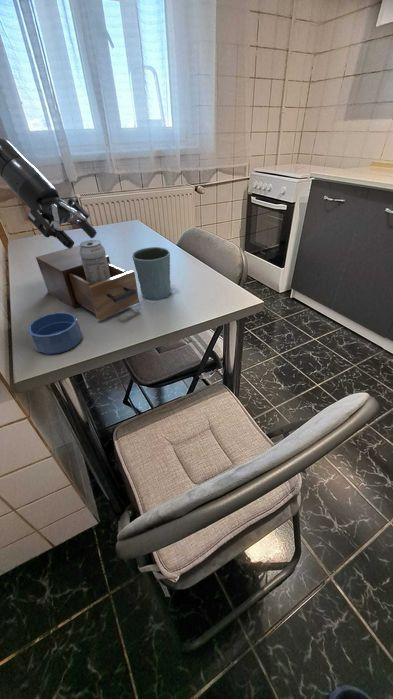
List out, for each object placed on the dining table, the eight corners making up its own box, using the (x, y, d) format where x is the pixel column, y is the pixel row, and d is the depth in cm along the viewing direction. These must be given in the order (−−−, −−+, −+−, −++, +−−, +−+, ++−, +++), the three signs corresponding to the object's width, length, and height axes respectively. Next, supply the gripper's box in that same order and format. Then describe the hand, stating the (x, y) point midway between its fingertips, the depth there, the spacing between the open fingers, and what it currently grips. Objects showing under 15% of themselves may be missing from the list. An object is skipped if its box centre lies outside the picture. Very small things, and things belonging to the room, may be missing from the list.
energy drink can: (116, 293, 83) (105, 238, 74) (112, 303, 78) (100, 246, 69) (95, 294, 83) (81, 239, 74) (89, 304, 78) (74, 247, 69)
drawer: (149, 307, 78) (144, 275, 73) (108, 326, 71) (100, 292, 66) (109, 287, 89) (103, 258, 83) (70, 302, 82) (61, 271, 76)
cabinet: (116, 291, 88) (108, 256, 82) (73, 308, 81) (62, 271, 74) (88, 277, 97) (80, 245, 91) (48, 292, 89) (35, 257, 83)
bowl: (48, 361, 62) (39, 342, 59) (28, 343, 68) (19, 324, 65) (90, 340, 68) (85, 322, 65) (69, 325, 74) (63, 307, 71)
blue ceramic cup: (177, 287, 89) (175, 248, 82) (165, 303, 82) (161, 261, 75) (147, 284, 92) (142, 245, 85) (132, 299, 84) (125, 258, 77)
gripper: (9, 177, 60) (70, 239, 64) (57, 169, 71) (107, 222, 75) (1, 204, 65) (58, 260, 69) (47, 193, 76) (95, 242, 79)
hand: (83, 240), depth 72 cm, fingers open, 8 cm apart
